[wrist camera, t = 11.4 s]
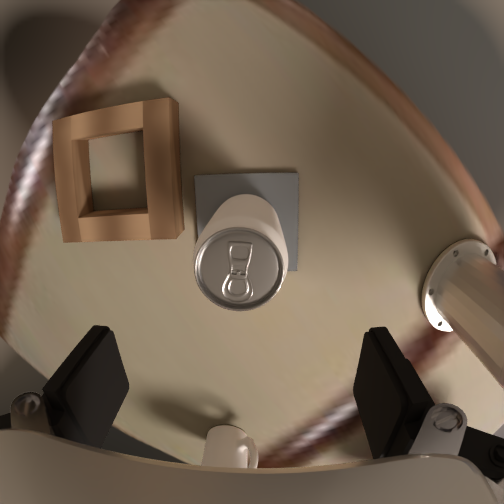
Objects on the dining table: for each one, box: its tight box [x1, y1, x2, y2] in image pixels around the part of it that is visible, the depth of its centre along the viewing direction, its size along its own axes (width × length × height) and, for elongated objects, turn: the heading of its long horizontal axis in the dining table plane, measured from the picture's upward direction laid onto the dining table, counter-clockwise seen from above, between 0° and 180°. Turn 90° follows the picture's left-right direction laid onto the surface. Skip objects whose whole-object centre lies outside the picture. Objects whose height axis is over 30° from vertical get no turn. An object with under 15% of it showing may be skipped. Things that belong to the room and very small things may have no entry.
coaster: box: [194, 173, 299, 271], centre depth 31 cm, size 10×10×1 cm
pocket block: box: [52, 97, 185, 243], centre depth 28 cm, size 13×13×4 cm
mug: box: [201, 425, 258, 468], centre depth 36 cm, size 10×7×12 cm, turn 136°
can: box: [193, 194, 288, 311], centre depth 25 cm, size 6×6×12 cm
